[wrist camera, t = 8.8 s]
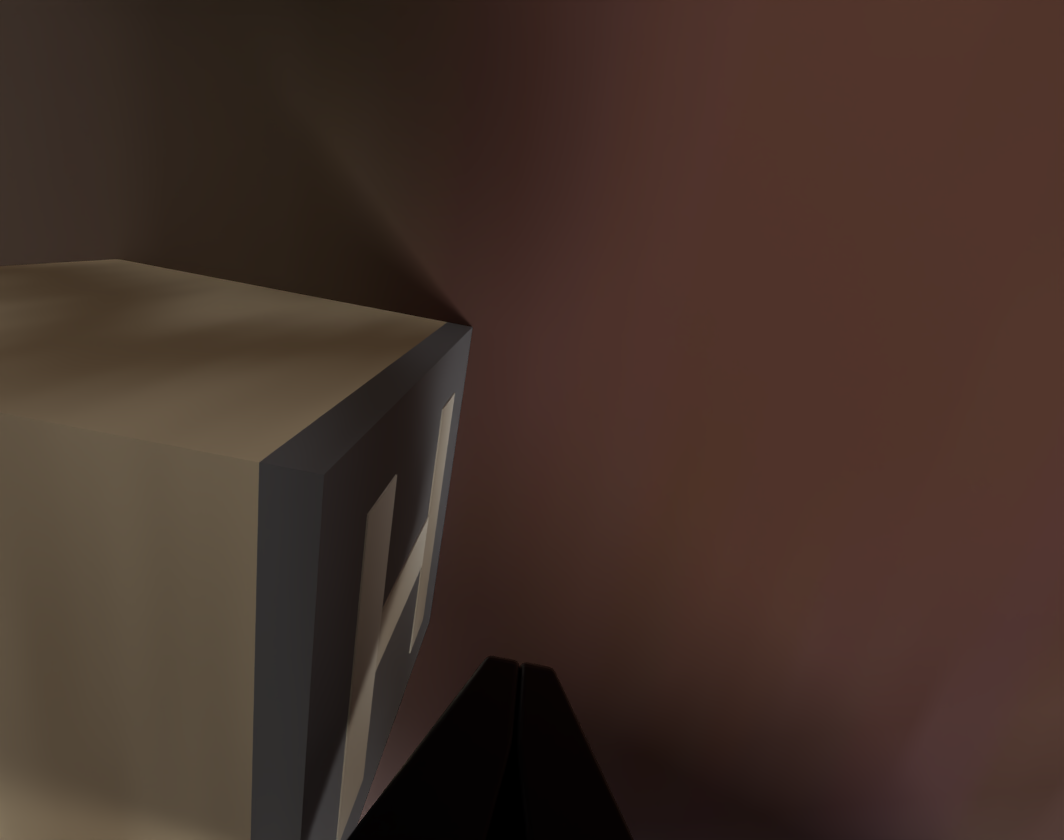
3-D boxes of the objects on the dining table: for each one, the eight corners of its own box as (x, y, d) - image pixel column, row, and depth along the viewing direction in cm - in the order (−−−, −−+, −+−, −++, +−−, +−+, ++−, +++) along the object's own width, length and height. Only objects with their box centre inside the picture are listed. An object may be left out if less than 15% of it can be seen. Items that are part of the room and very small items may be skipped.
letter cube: (327, 474, 4) (-586, 299, 4) (291, 1016, 6) (-303, 903, 6) (473, 327, 11) (118, 259, 11) (430, 620, 13) (136, 564, 13)
